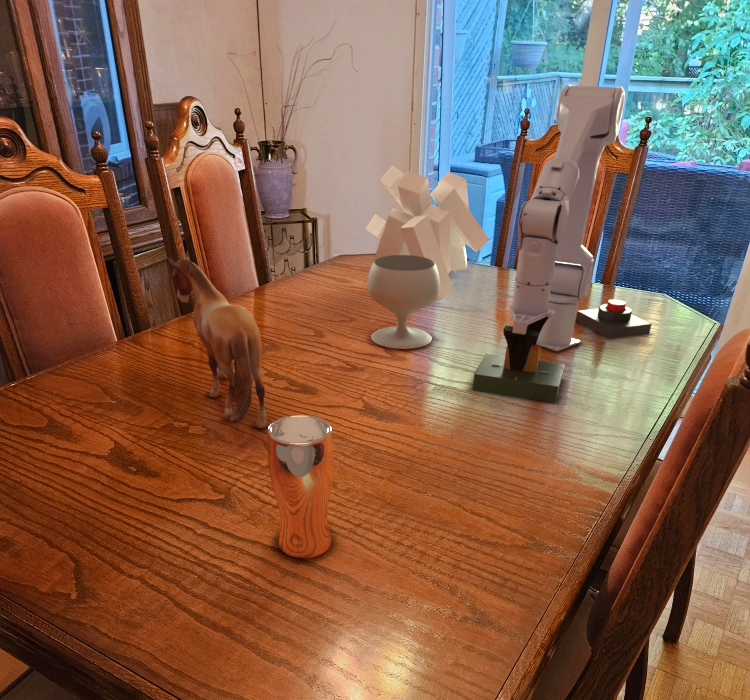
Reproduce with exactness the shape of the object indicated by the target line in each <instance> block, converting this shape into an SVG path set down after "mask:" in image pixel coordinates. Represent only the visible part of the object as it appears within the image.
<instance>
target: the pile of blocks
mask: <svg viewBox="0 0 750 700" xmlns="http://www.w3.org/2000/svg"><path fill="white" fill-rule="evenodd" d="M379 180H380V181H381V183H382V184H383V185H384V187H385V188H386V189H387V191H388V192H389V193H390V195H391V196H392V197H393V198H394V200H395V201H396V203H397V204H398V205H399V206H400V208H401V209H402V210H400V209H397V208H395V207H393V208H392V209H391V211H390V212H389V214H388V216H387V219H386V220H385V219H383V218H382V217H381V216H379V215H378V214H377V213H375V214H374V215H373V216H372V218H371V219H370V221H369V222H368V224H367V225H366V227H365V230H366V231H367V232H368V233H370V234H372V235H373V236H374V237H376V239H378V240H379V243H378V246H377V249H376V251H375V254H374V257H373V261H372V264H373V263H374V261H375V260H376V259H378V258H381V257H385V256H392V255H411V256H419V257H424V258H427V259H430V260H432V261H433V262H434V263H435V264H436V267H437V270H438V273H439V278H440V291H439V294H438V296H437V298H436V299H435V300H434V301H441V300H442V299H444V298H445V297H446V296H447V295H448V294H449V293H450V292H451V291H452V290H453V289H454V286H453V283H452V281H451V278H450V275H449V274H450V273H451V272H453V271H459V270H464V269H465V270H466V269H468V264H467V263H468V259H467V258H468V257H467V250H466V246H468V247H469V248H470V249H472V250H473V251H474V252H475V253H478V252H480V250H481V249H482V248H483V247H484V246H485V245H486V244H487V243H488V242H489V241H490V239H489V237H488V235H487V234H486V232H485V231H484V229H483V228H482V227H481V225H480V223H479V222H478V220H477V219H476V218H475V216H474V215H473V213H472V212H471V211H470V205H469V194H468V192H469V191H468V181H467V178H465V177H463V176H460V175H458V174H455V173H453V172H451V171H448V172H447V173H446V174H445V175H444V176H443V177H442V178H441V179H440V180H439V181H438V182H437V186H436V187H434V189H433V190H432V191H431V190H430V185H429V178H428V177H427V176H424V175H421V174H418V173H414V172H411V171H408V170H405V171H404V173H403V171H401V170H400V169H398V168H397V167H396V166H394V165H391V166H390V168H388V170H387V171H386V172H385V173H384V174H383V175H382V176H381V177H380V179H379ZM430 191H431V192H430ZM432 199H433V201H434V202H435V204H436V205H435V204H433V203H432ZM372 264H371V265H372ZM368 276H369V274H368V275H367V278H366V280H365V282H366V283H367V282H368Z"/></svg>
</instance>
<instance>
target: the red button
mask: <svg viewBox="0 0 750 700" xmlns="http://www.w3.org/2000/svg"><path fill="white" fill-rule="evenodd" d="M606 304H607V310H609V311H613V312H624V310H625V306H626V305H627V302H626V301H624V300H621V299H609V300H608V301H607V303H606ZM626 307H627V306H626Z"/></svg>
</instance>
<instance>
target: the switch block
mask: <svg viewBox="0 0 750 700" xmlns="http://www.w3.org/2000/svg"><path fill="white" fill-rule="evenodd" d="M607 304H608V303H604V304H601V305H599V306H598V308H589V309H581V310H580V309H579V310H577V315H576V320H575V322H577V323H579V324H581V325H583V326H585V327H587V328H589V329H590V330H593V331H594V332H596V333H598V334H600V335H602V336H603V337H605V338H607V339H609V340H613V339H619V338H621V339H622V338H628V337H629V338H630V337H635V336H641V335H642V336H644V335H650V332H651V328H652V323H651V322H649V321H646V320H644V319H642V318H641V317H638V316H636V315H634V314H633V310H632V308H631V307H628V306H625V310H624V312H613V311H609V310H607Z"/></svg>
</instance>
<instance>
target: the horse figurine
mask: <svg viewBox="0 0 750 700" xmlns="http://www.w3.org/2000/svg"><path fill="white" fill-rule="evenodd" d="M176 258H177V261H175V260H173V259H172V258H171V257H168V259H167V260H168V262H169V263H170V265H171V266H172V267H173V271H172V274H171V277H172V279H173V280H174V281H175V284H176V286H177V293H176V298H177V299H178V300H179V301H180V302H181V303H188V302H189V298H190V295H191V293H192V295H193V297H194V301H195V302H194V306H193V312H192V323H193V325H194V327H195V330H196V334H197V335H198V337H199V340H200V342H201V344H202V345H203V347H204V348H205V350H206V354H207V357H208V359H207V361H208V367H209V369H210V370H211V372H212V378H213V379H212V380H213V381H212V388H211V389H210V391H209V394H208V396H209V397H211V398H218V397H219V392H220V391H219V388H220V387H221V386H220V385H221V384H220V381H219V380H224V379H226V378H227V379H228V382H229V385H228V394H227V397H226V399H225V400H224V405H225V408H224V414H223V416H224V419H226V420H228V422H229V424H232V423H233V422H234V421H239V422H240V421H242V420H244V418H245V417H246V415H247V413H248V411H249V409H250V408H251V406H252V402H253V384H254V387H255V388H254V389H255V393H256V396H257V398H258V404H259V411H258V418H257V421H256V422H255V426H256V428H258V429H259V428H260V429H261V428H266V427H267V424H268V423H267V422H268V421H267V419H266V418H267V411H266V409H265V395H266V390H265V386H264V384H263V381H262V367H261V361H262V356H263V355H262V354H263V346H262V340H261V339H262V338H261V334H260V329H259V326H258V323H257V322H256V320H255V318H254V316H253V314H252V313H251V312H250V311H249V310H248V308H246V307H244V306H242V305H237V304H230V303H229V301H228V299H227V298H226V296H225V295H223V294H222V293H221V292H220V291H219V290H218V289H216V287H215V286H214V285H213V284H212V282H211V280H209V278H208V276H207V275H206V274H205V272H204V271H203V270H202V269H201V267H200V266H199V265H198V264H196V263H195V262H192V261H191V260H190V259H188V258H184V257H180V256H177V257H176ZM234 402H235V409H234V411H233V408H232V406H233V404H234Z"/></svg>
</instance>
